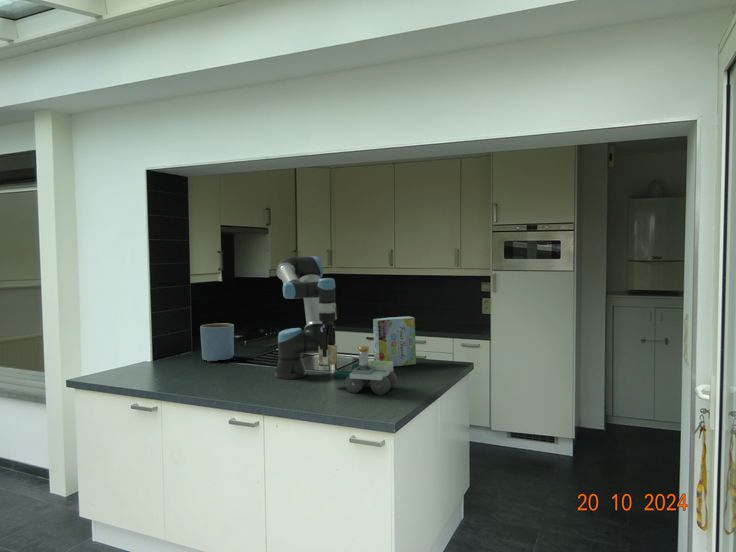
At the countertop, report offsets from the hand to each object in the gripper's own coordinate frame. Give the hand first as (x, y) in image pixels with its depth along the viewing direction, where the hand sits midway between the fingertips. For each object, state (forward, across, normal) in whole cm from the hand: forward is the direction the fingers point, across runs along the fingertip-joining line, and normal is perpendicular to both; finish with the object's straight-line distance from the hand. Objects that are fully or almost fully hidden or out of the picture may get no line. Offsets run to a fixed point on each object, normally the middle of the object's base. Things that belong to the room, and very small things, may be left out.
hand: (328, 362), depth 251 cm
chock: (0, 0, 0) cm, 0 cm away
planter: (+12, +41, +89) cm, 98 cm away
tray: (+2, +2, -24) cm, 24 cm away
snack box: (+12, +52, -16) cm, 55 cm away
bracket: (+12, +19, -3) cm, 23 cm away
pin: (+2, -7, -20) cm, 22 cm away
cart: (+11, -2, -22) cm, 25 cm away
